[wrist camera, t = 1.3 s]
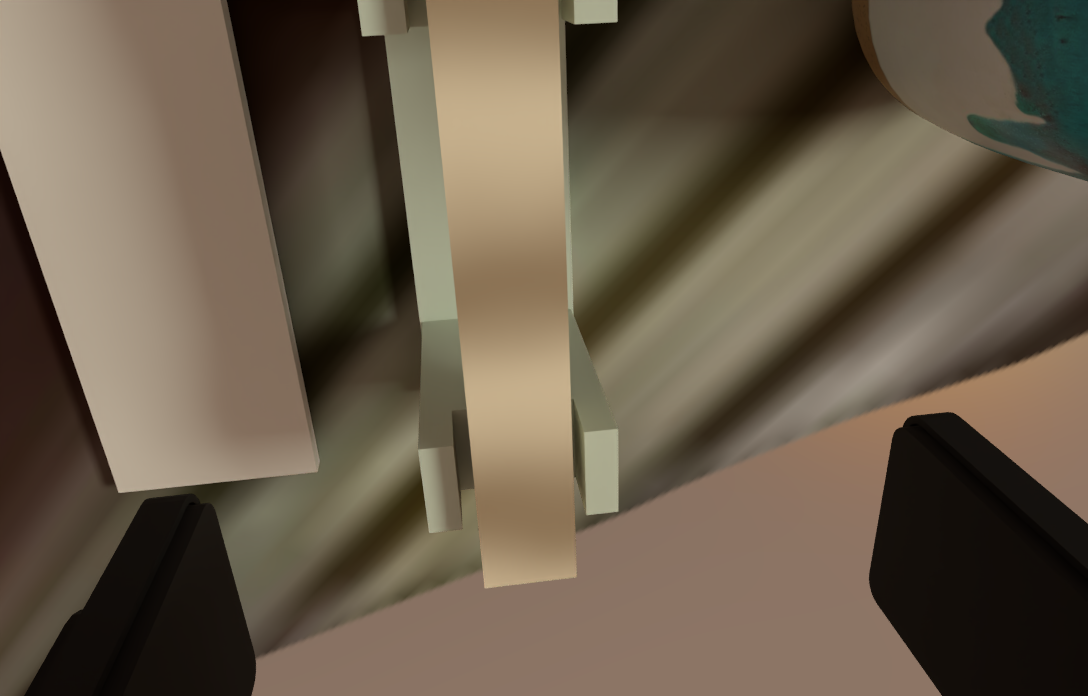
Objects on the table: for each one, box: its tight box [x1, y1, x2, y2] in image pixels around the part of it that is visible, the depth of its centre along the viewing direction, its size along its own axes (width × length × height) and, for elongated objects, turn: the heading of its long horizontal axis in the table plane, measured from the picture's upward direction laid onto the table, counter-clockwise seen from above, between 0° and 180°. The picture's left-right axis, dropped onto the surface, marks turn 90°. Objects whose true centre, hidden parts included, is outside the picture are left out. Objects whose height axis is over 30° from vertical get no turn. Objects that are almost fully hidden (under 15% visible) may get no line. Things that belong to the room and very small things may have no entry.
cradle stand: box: [357, 0, 618, 533], centre depth 25 cm, size 18×6×10 cm, turn 3°
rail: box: [426, 0, 577, 588], centre depth 21 cm, size 20×3×3 cm, turn 3°
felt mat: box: [0, 0, 320, 493], centre depth 28 cm, size 24×8×1 cm, turn 3°
